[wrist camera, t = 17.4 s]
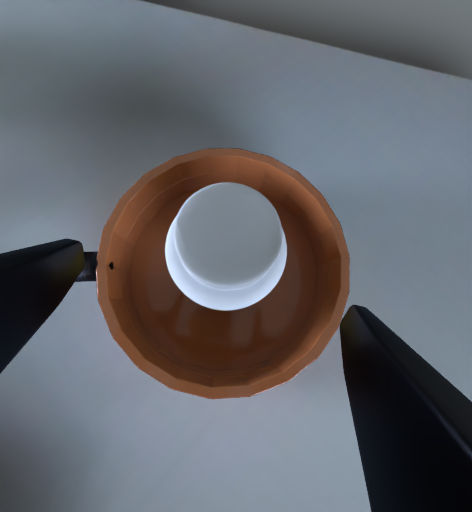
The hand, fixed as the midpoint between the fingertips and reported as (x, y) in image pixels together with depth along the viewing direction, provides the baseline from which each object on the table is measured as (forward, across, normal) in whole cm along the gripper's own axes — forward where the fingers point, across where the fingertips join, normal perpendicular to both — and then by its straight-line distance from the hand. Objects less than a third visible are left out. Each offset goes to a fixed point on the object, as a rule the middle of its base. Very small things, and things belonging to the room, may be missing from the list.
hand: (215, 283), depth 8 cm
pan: (+9, 0, +6) cm, 11 cm away
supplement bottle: (+9, 0, +6) cm, 11 cm away
